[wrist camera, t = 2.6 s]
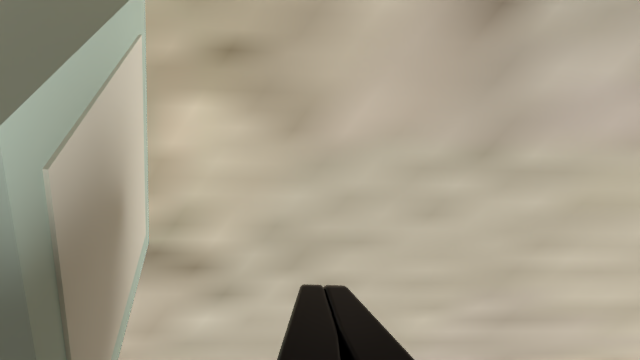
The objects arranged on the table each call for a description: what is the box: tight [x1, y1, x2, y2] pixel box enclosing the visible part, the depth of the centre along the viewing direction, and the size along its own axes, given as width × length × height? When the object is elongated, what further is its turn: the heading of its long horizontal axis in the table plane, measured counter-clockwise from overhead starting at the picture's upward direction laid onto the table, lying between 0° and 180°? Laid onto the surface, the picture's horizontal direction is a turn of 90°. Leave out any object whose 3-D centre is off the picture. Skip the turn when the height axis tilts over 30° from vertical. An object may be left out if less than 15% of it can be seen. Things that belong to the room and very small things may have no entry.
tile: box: [0, 0, 149, 360], centre depth 11 cm, size 8×2×9 cm, turn 171°
